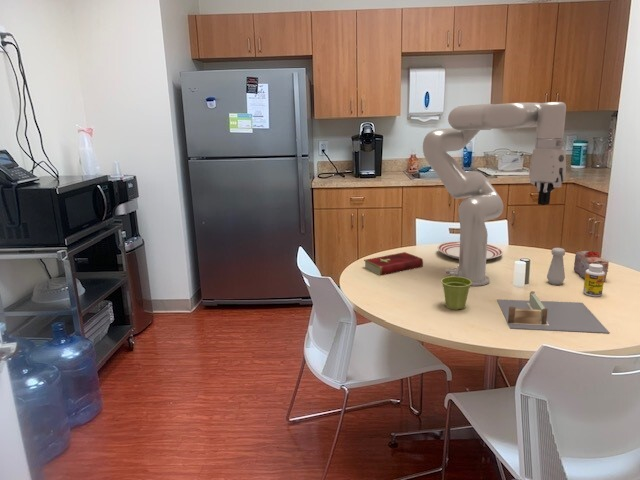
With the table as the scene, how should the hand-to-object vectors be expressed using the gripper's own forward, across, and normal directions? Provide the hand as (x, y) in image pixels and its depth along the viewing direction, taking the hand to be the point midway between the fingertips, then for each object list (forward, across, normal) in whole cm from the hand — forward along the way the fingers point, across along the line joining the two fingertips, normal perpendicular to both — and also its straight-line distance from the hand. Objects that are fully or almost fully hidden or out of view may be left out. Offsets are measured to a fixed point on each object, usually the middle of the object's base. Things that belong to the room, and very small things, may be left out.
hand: (543, 204), depth 146 cm
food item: (+32, +7, -36) cm, 49 cm away
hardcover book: (+33, +53, +21) cm, 66 cm away
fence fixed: (+32, -12, +16) cm, 38 cm away
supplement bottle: (+32, -5, -21) cm, 39 cm away
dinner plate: (+33, +51, -18) cm, 63 cm away
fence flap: (+31, -8, +8) cm, 33 cm away
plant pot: (+32, +8, +26) cm, 42 cm away
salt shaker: (+32, +8, -19) cm, 39 cm away
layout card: (+32, -10, +6) cm, 34 cm away
